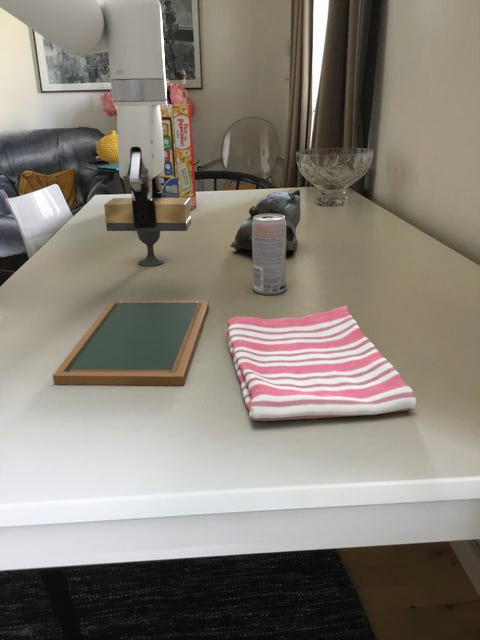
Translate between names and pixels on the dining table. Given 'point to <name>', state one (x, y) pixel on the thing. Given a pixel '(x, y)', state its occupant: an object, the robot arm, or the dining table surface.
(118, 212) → the eraser
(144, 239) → the sundae
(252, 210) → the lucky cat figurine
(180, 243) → the dining table surface
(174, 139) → the board game
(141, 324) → the chalkboard
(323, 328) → the dish towel
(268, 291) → the energy drink
